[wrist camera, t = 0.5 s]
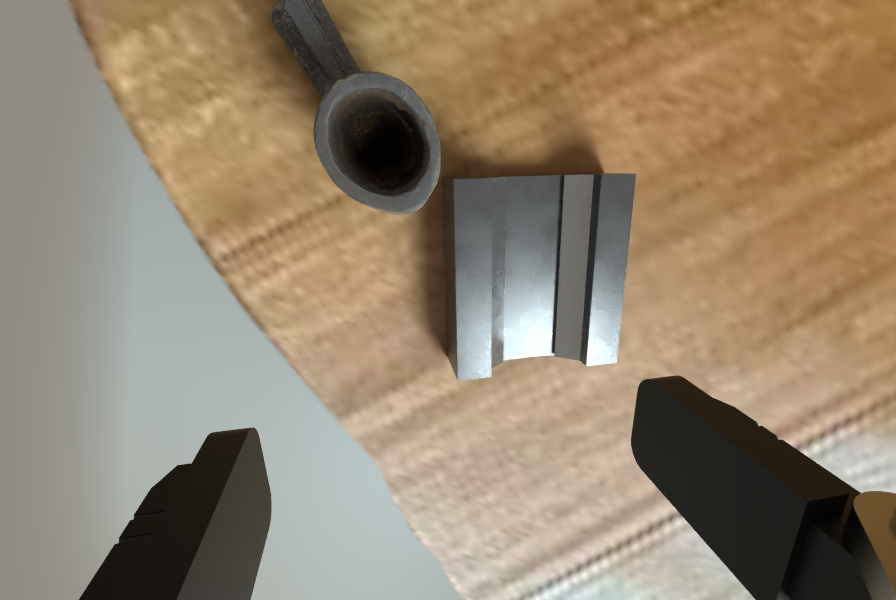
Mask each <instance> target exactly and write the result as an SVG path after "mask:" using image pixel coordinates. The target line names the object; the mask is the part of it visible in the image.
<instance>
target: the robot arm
mask: <svg viewBox="0 0 896 600" xmlns="http://www.w3.org/2000/svg"><path fill="white" fill-rule="evenodd" d="M631 446H632V451H633V455H634V457H635V460H636V462H637V464H638V465H639V467H640V468H641V470H642V471H643V472H644V473H645V474H646V475H647V476H648V478H649V479H650V480H651V481H652V482H653V483H654V484H655V486H656V487H657V488H658V489H659V490H660V491H661V492H662V493H663V495H664V496H665V497H666V498H667V499H668V500H669V501H670V503H671V504H672V505H673V506H674V507H675V508H676V509H677V511H678V512H679V513H680V514H681V515H682V516H683V517H684V518H685V520H686V521H687V522H688V523H689V524H690V525H691V526H692V528H693V529H694V530H695V531H696V532H697V533H698V534H699V536H700V537H701V538H702V539H703V540H704V541H705V542H706V544H707V545H708V546H709V547H710V548H711V549H712V550H713V551H714V553H715V554H716V555H717V556H718V557H719V558H720V559H721V561H722V562H723V563H724V564H725V565H726V566H727V567H728V569H729V570H730V571H731V572H732V573H733V574H734V575H735V577H736V578H737V579H738V580H739V581H740V582H741V583H742V584H743V586H744V587H745V588H746V589H747V590H748V591H749V592H750V594H751V595H752V596H753V597H754V598H755V599H756V600H896V494H895V493H890V492H882V491H869V492H864V493H860V492H858V491H857V490H855V489H854V488H853V487H851V486H850V485H848V484H847V483H845V482H844V481H842V480H841V479H839V478H838V477H836V476H835V475H833V474H832V473H831V472H829V471H828V470H826V469H825V468H823V467H822V466H820V465H819V464H817V463H816V462H814V461H813V460H811V459H810V458H808V457H807V456H806V455H804V454H803V453H801V452H800V451H798V450H797V449H795V448H794V447H792V446H791V445H789V444H788V443H786V442H785V441H783V440H778V439H777V436H776V435H775V434H773V433H772V432H770V431H769V430H767V429H766V428H764V427H763V426H758V424H757V422H756V421H754V420H753V419H751V418H750V417H748V416H747V415H745V414H744V413H742V412H741V411H739V410H738V409H736V408H735V407H733V406H731V405H728V404H726V403H724V402H721V401H719V400H717V399H715V398H712V397H711V396H709V395H708V394H706V393H705V392H704V391H702V390H701V389H699V388H698V387H696V386H695V385H693V384H692V383H691V382H689V381H688V380H686V379H685V378H683V377H681V376H669V377H661V378H653V379H646V380H643V381H642V382H641V383H640V385H639V387H638V392H637V399H636V407H635V414H634V421H633V429H632V436H631ZM270 520H271V492H270V487H269V482H268V477H267V472H266V468H265V463H264V458H263V453H262V448H261V443H260V439H259V435H258V432H257V430H256V429H255V428H245V429H237V430H229V431H221V432H213V433H210V434H209V435H208V436H207V438H206V440H205V441H204V443H203V445H202V447H201V448H200V450H199V452H198V453H197V455H196V457H195V459H194V461H193V462H192V464H184V465H178V466H176V467H175V468H174V469H173V470H172V471H171V472H170V473H168V474H167V475H166V476H165V477H164V478H163V479H162V480H161V481H160V482H158V483H157V484H156V485H155V486H153V487H152V488H151V490H150V491H149V492H148V494H147V496H146V497H145V499H144V500H143V502H142V503H141V505H140V506H139V508H138V510H137V511H136V513H135V514H134V520H130V522H129V523H128V525H127V526H126V528H125V529H124V531H123V533H122V534H121V536H120V537H119V543H118V544H115V545H114V546H113V548H112V549H111V551H110V553H109V554H108V556H107V557H106V559H105V560H104V562H103V563H102V565H101V567H100V568H99V570H98V571H97V573H96V574H95V576H94V577H93V579H92V581H91V582H90V584H89V585H88V587H87V588H86V590H85V591H84V593H83V594H82V596H81V597H80V599H79V600H250V599H251V595H252V592H253V588H254V584H255V580H256V576H257V573H258V568H259V565H260V561H261V557H262V553H263V550H264V545H265V541H266V538H267V534H268V530H269V526H270Z"/></svg>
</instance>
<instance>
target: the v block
mask: <svg viewBox="0 0 896 600" xmlns="http://www.w3.org/2000/svg"><path fill="white" fill-rule="evenodd" d="M635 179H636V174H625V173H593V174H561V175H529V176H496V177H464V178H443V199H444V235H445V271H446V307H447V343H448V359H449V361H450V363H451V366H452V368H453V370H454V373H455V375H456V377H457V380H467V379H476V378H485V377H491V368H493V367H495V366H497V365H499V364H500V363H502V362H503V360H508V359H517V358H527V357H537V356H546V355H555V357H561V358H568V359H574V360H580V361H581V362H582V363H583V364H584V365H586V366H593V365H602V364H611V363H616V362H617V353H618V343H619V333H620V324H621V314H622V304H623V295H624V285H625V275H626V266H627V256H628V246H629V237H630V227H631V217H632V208H633V198H634V188H635Z"/></svg>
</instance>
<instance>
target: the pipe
mask: <svg viewBox="0 0 896 600" xmlns="http://www.w3.org/2000/svg"><path fill="white" fill-rule="evenodd" d="M269 18H270V20H271V22H272V24H273V26H274V28H275V29H276V31H277V32H278V34H279V35H280V37H281V38H282V40H283V42H284V43H285V45H286V46H287V48H288V49H289V50H290V52H291V53H292V55H293V56H294V58H295V59H296V61H297V62H298V64H299V65H300V67H301V68H302V70H303V71H304V73H305V74H306V76H307V77H308V79H309V80H310V82H311V83H312V85H313V86H314V87H315V89H316V90H317V91H318V93H319V94H320V95H321V97H322V100H321V103H320V105H319V107H318V110H317V113H316V117H315V123H314V141H315V147H316V150H317V153H318V156H319V159H320V161H321V163H322V165H323V167H324V169H325V170H326V172H327V173H328V175H329V176H330V178H331V179H332V180H333V181H334V183H335V184H336V185H337V187H339V188H340V189H341V190H342V191H343V192H345V193H346V194H347V195H348V196H350V197H351V198H353V199H354V200H356V201H358V202H360V203H362V204H364V205H366V206H369V207H372V208H375V209H378V210H381V211H384V212H388V213H392V214H410V213H413V212H416V211H418V210H419V209H420V208H421V207H422V206H423V205H424V204H425V202H426V201H427V200H428V198H429V197H430V195H431V193H432V191H433V190H434V188H435V186H436V185H437V182H438V178H439V174H440V165H441V149H440V141H439V136H438V133H437V130H436V127H435V123H434V121H433V118H432V116H431V113H430V112H429V110H428V109H427V107H426V105H425V104H424V102H423V101H422V99H421V98H420V97H419V96H418V95H417V94H416V92H415V91H414V90H413V89H412V88H411V87H409V86H408V85H407V84H405V83H404V82H402V81H401V80H399V79H397V78H395V77H392V76H390V75H387V74H383V73H379V72H360V70H359V69H358V67H357V65H356V63H355V61H354V59H353V58H352V56H351V54H350V52H349V50H348V48H347V47H346V45H345V43H344V41H343V39H342V37H341V35H340V34H339V32H338V30H337V28H336V27H335V25H334V23H333V21H332V19H331V17H330V16H329V14H328V12H327V10H326V8H325V6H324V4H323V2H322V1H321V0H279V1H278V2H277V3H276V4H275V5H274V7H273V9H272V11H271V13H270V15H269Z"/></svg>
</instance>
